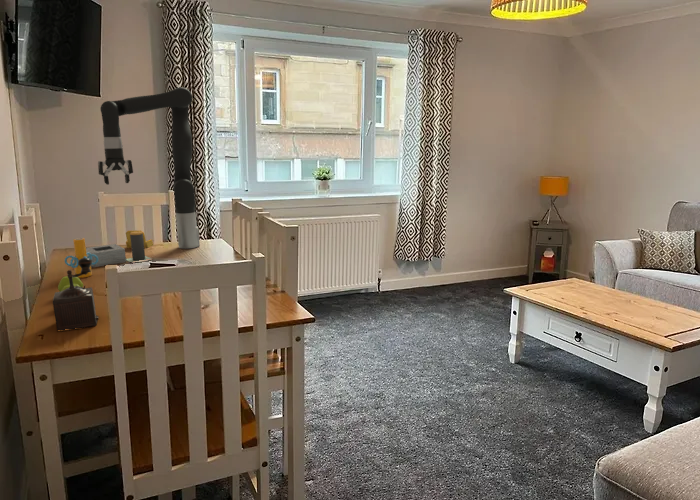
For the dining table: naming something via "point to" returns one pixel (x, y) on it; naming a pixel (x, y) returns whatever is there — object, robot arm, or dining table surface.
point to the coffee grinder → (75, 303)
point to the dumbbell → (66, 284)
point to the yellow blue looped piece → (80, 253)
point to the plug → (137, 246)
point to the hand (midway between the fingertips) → (117, 183)
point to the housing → (107, 254)
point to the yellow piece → (146, 243)
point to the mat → (134, 260)
